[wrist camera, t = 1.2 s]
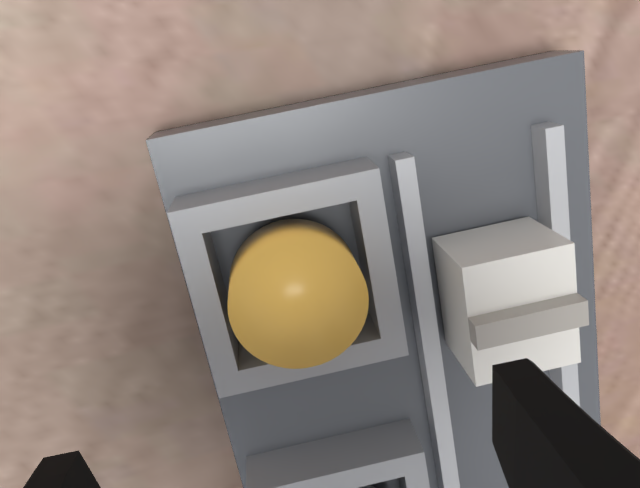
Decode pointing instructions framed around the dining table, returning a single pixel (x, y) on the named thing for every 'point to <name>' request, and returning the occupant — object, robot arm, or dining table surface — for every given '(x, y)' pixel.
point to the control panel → (381, 260)
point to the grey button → (367, 486)
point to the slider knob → (509, 296)
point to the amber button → (296, 294)
